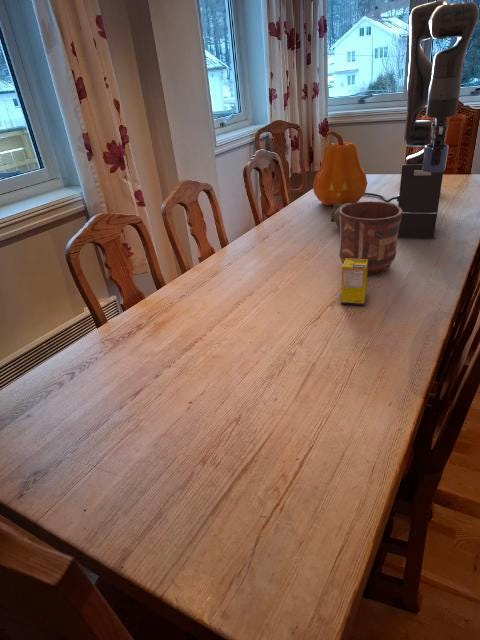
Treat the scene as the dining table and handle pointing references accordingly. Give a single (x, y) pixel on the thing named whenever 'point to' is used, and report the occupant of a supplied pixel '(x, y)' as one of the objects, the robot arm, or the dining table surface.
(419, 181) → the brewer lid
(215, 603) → the dining table surface
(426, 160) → the creamer cup
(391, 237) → the pottery
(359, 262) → the supplement box
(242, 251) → the dining table surface
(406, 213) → the black cube
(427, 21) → the robot arm
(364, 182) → the decorative pumpkin
